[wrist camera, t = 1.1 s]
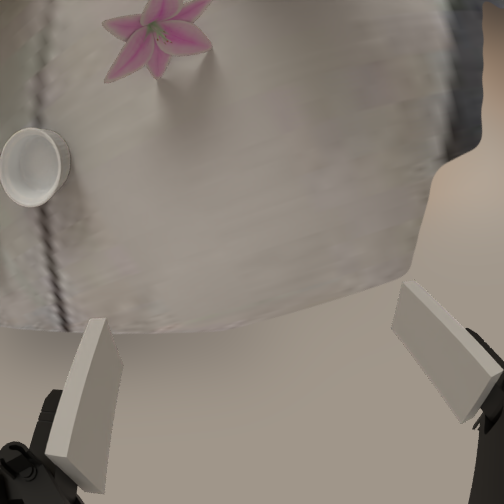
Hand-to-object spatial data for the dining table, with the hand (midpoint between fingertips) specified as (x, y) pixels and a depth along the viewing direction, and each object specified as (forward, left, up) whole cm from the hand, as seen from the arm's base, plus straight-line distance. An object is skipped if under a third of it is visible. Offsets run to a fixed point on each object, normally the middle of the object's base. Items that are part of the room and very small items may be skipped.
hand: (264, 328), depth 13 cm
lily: (-17, -6, -25) cm, 31 cm away
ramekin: (-5, -21, -25) cm, 34 cm away
